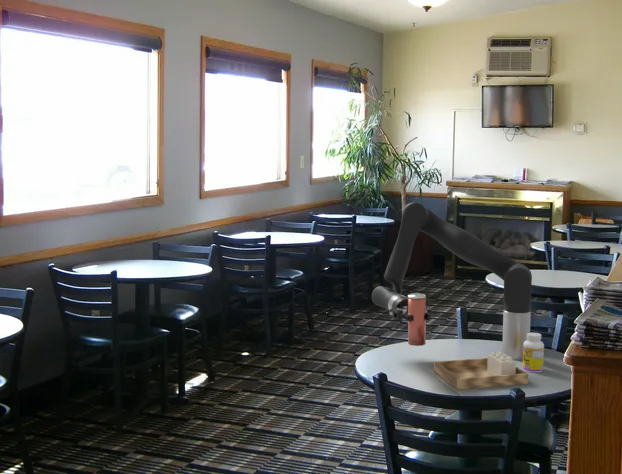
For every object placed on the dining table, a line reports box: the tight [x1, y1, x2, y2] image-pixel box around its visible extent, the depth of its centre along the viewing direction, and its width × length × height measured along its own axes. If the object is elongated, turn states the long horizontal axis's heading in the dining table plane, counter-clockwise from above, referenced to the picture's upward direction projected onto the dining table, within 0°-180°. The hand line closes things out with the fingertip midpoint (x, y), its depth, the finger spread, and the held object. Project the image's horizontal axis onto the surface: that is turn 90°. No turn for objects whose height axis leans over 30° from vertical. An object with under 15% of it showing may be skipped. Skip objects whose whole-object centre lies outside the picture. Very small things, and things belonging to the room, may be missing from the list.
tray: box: [433, 357, 529, 392], centre depth 261 cm, size 24×20×4 cm
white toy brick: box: [487, 350, 517, 376], centre depth 262 cm, size 5×10×7 cm, turn 13°
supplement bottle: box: [522, 332, 545, 373], centre depth 269 cm, size 7×7×13 cm
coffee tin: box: [407, 293, 427, 347], centre depth 262 cm, size 6×6×16 cm
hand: (419, 318), depth 260 cm, fingers closed on coffee tin, 5 cm apart
